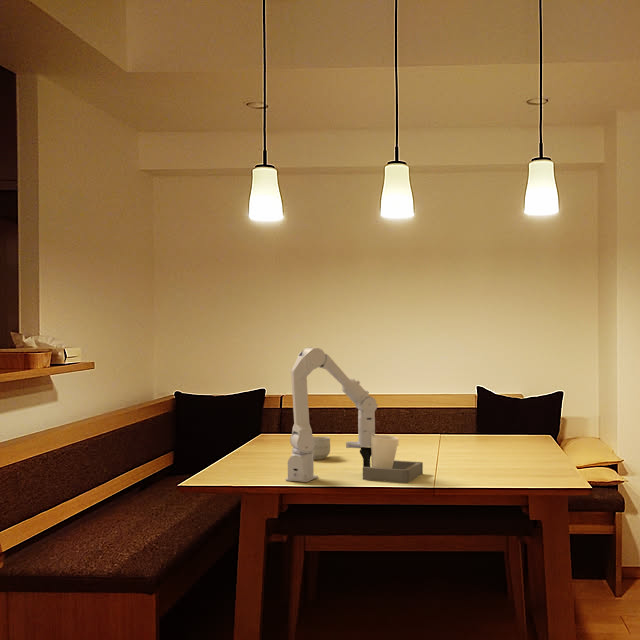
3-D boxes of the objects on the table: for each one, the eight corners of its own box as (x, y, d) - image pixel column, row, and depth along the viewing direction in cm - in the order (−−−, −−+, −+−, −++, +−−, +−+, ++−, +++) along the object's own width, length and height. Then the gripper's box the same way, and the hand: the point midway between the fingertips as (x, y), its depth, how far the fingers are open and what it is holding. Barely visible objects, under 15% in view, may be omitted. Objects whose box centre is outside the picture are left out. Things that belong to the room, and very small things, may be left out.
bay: (407, 482, 268) (407, 470, 268) (362, 479, 275) (362, 467, 275) (422, 473, 284) (422, 462, 284) (380, 470, 290) (380, 459, 290)
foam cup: (381, 471, 287) (385, 434, 287) (400, 477, 280) (404, 439, 280) (361, 472, 281) (365, 435, 281) (380, 478, 274) (384, 440, 274)
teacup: (317, 462, 309) (317, 440, 309) (296, 459, 316) (296, 438, 316) (341, 457, 319) (341, 436, 319) (320, 454, 327) (319, 434, 327)
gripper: (390, 429, 284) (390, 469, 284) (351, 427, 290) (351, 466, 290) (383, 432, 277) (384, 472, 277) (343, 430, 283) (344, 469, 283)
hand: (366, 469), depth 283 cm, fingers closed, pressing on foam cup
